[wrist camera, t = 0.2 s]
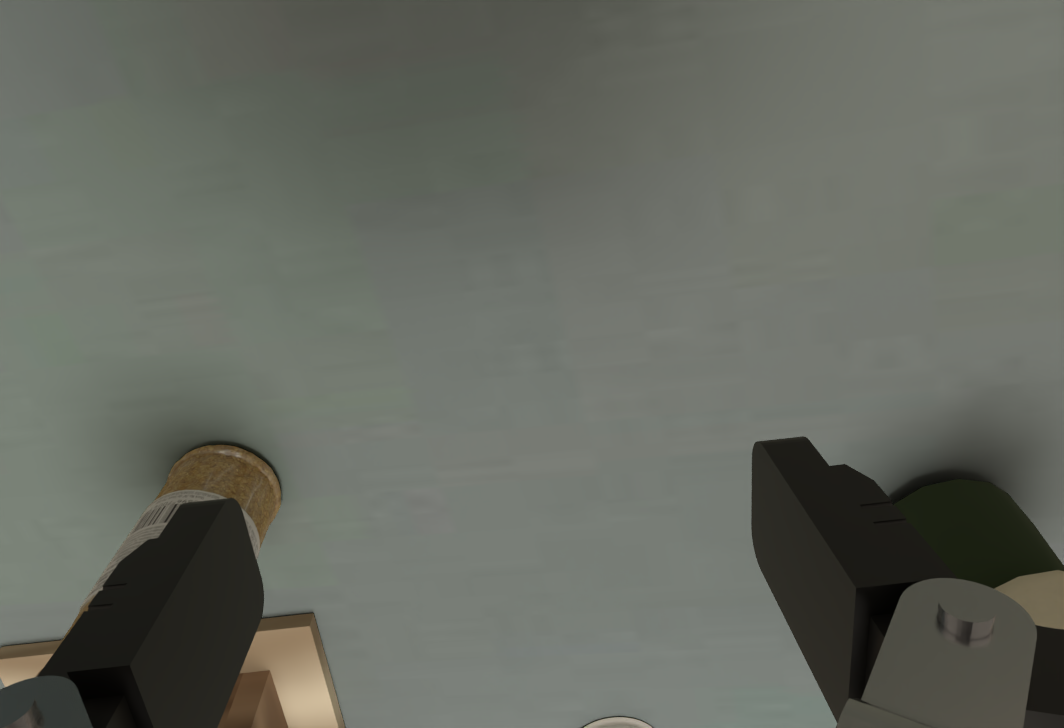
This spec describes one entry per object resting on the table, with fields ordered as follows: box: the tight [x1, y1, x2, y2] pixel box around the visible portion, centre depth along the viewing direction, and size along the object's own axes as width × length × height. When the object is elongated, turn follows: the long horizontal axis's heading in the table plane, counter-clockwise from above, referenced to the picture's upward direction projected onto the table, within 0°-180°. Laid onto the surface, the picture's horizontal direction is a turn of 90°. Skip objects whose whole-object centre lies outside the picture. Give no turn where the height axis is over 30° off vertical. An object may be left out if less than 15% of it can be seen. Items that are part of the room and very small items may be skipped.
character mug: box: [893, 479, 1064, 629], centre depth 29 cm, size 11×7×13 cm, turn 159°
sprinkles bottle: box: [36, 445, 281, 677], centre depth 26 cm, size 5×5×14 cm
